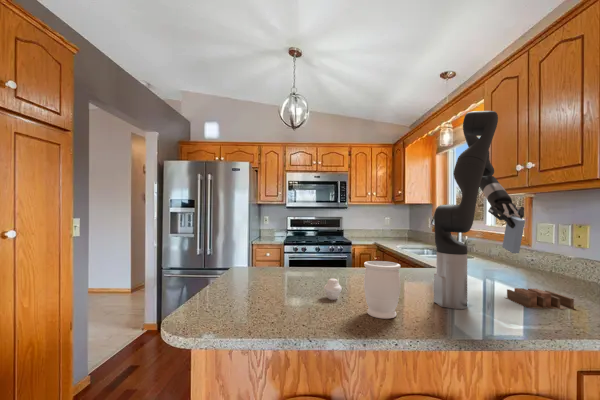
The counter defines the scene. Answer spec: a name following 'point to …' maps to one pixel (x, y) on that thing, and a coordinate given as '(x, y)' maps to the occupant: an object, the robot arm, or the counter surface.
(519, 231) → the tall board
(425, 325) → the counter surface
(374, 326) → the counter surface
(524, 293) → the offcut
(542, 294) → the offcut
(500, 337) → the counter surface
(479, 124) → the robot arm
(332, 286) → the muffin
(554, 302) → the rack
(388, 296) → the jar
